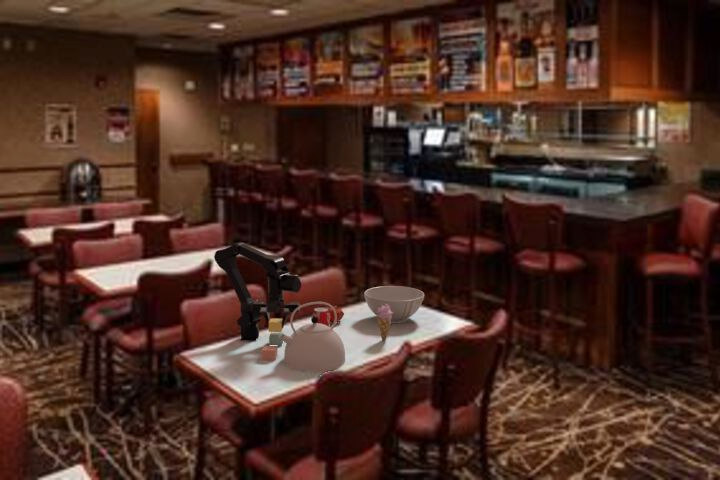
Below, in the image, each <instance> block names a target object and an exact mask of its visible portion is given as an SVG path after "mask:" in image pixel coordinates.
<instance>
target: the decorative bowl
mask: <svg viewBox="0 0 720 480" xmlns="http://www.w3.org/2000/svg"><path fill="white" fill-rule="evenodd" d="M363 295H364V300H365V302H366V304H367V306H368V308H369V309H370V310H371V312H372V313H373V314H374V315H375V316H376V315H377V311H378V309H377V308H381V307H382V306H381V305H383V306H385V304H387V305H389V307H390V310H391V312H393V313H392V318H391V323H390V324H402V323H406V322H407V321H408V319H409V318H410V317H412V316H413V315H415V314H416V313H417V312H418V310H419V309H420V307H421V305H422V303H423V301H424V298H425V293H424V292H423V291H422V290H420V289H417V288H413V287H409V286H399V285H383V286H376V287H372V288H368V289H366V290H365V291H364V293H363Z"/></svg>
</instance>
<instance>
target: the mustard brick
mask: <svg viewBox="0 0 720 480" xmlns="http://www.w3.org/2000/svg"><path fill="white" fill-rule="evenodd" d="M282 320H283V318H276V317H275V318H271V317H270V321H269V327H268V333H283V329H284V327H283V328H282Z"/></svg>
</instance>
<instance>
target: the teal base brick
mask: <svg viewBox="0 0 720 480" xmlns="http://www.w3.org/2000/svg"><path fill="white" fill-rule="evenodd" d="M283 334H284V332H270V334H269V335H268V337H269V338H268V341H269V342H268V346H269V345H280V346H279V347H283V345H284V342H283V341H282V340H281V339H280V338H279V337H280V336H281V335H283ZM282 344H283V345H282Z"/></svg>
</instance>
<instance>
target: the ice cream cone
mask: <svg viewBox="0 0 720 480" xmlns="http://www.w3.org/2000/svg"><path fill="white" fill-rule="evenodd" d="M381 306H382V307H381V308H377V309H378V311H377V315H375V316H376V318H377V319H376V320H377V325H378V329H379V333H380V337H381V339H382V341H384V342H385V341H387V337H388V334H389V331H390V327H391V324H392V323H391V318H392V313H393V312H391V310H390V307H389V305H387V304H385V306H383V305H381Z"/></svg>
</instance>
